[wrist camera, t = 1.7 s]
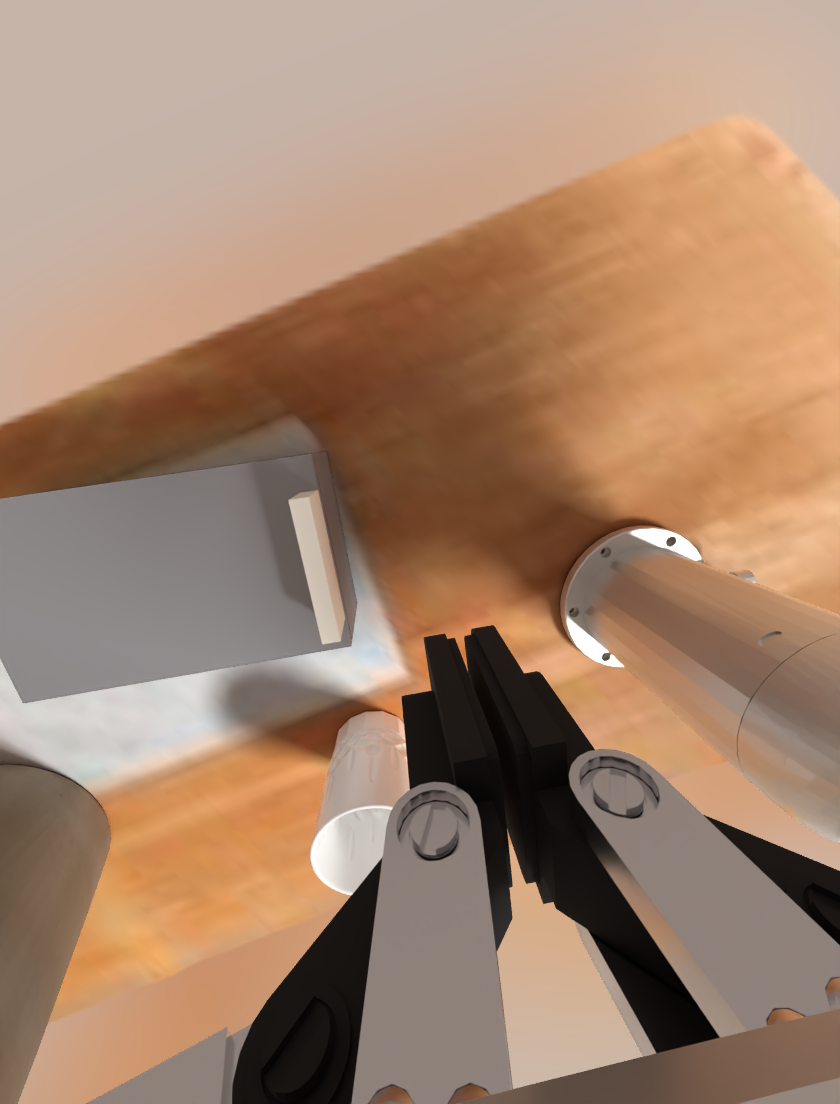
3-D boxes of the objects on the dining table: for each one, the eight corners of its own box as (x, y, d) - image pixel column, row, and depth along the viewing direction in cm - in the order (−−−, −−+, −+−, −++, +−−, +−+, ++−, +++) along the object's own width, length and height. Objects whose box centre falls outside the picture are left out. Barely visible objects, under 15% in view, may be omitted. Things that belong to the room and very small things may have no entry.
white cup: (319, 714, 34) (295, 822, 24) (408, 695, 34) (419, 793, 25) (340, 784, 36) (326, 908, 26) (423, 766, 36) (439, 881, 27)
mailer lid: (312, 453, 22) (299, 455, 18) (351, 641, 25) (347, 672, 22) (-63, 507, 21) (-151, 520, 17) (31, 697, 24) (-27, 739, 21)
